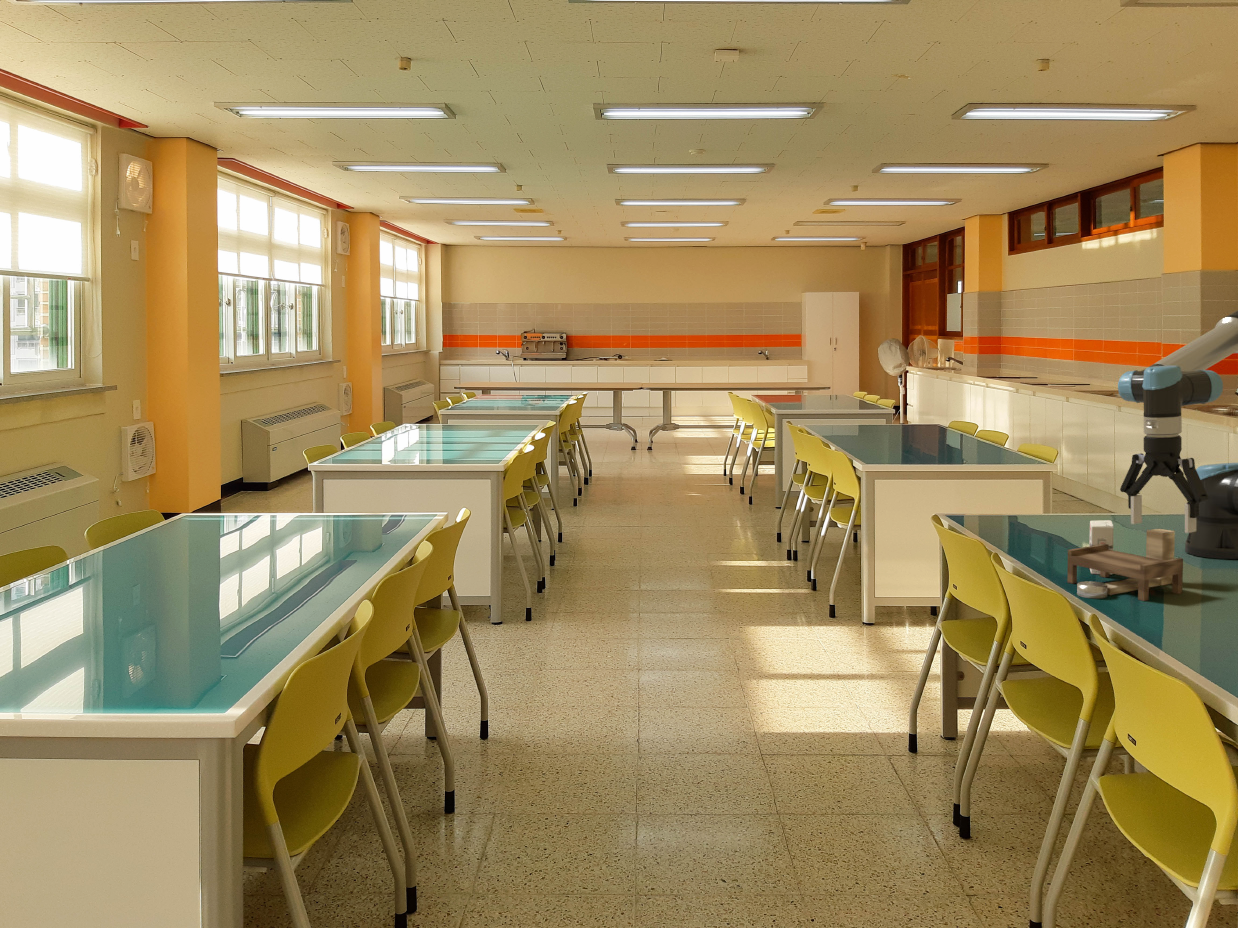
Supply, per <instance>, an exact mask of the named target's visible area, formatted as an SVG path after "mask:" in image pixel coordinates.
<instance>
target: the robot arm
mask: <svg viewBox="0 0 1238 928" xmlns="http://www.w3.org/2000/svg"><path fill="white" fill-rule="evenodd" d="M1232 354H1238V310H1236V311H1234V312H1232V313H1230V314H1229V315H1226V316H1224V317H1223V318H1221V319H1220V320H1219V321H1218V322H1217V323H1216V324H1215V326H1214V328H1212V329H1211V330H1209V331H1207V332H1205V333H1204V334H1202V335H1201V336H1199V337H1197V338H1195V339H1194V340H1192V341H1190V342H1189V343H1187V344H1185V345H1184V346H1182V347H1180V348H1178V349H1177V350H1175V351H1174V352H1172V353H1170V354H1169V355H1167V356H1165V357H1163V358H1161V359H1160V360H1158V361H1157V362H1155V363H1153V364H1151V365H1150V366H1148V367H1146V368H1144V369H1141V370H1138V369H1137V370H1135V369H1133V370H1130V371H1126V372H1124V373H1123V374H1122V375H1121V376H1120V377H1119V379H1118V383H1117V390H1118V394H1119V396H1120V398H1121V399H1123V400H1124V401H1126V402H1134V403H1137V404H1141V403H1143V434H1144V435H1145V436H1144V437H1143V452H1145V454H1144V453H1142V452H1141V453H1135V454H1132V456H1131V463H1130V466H1129V468H1128V470H1127V473H1126V475H1125V477H1124V479H1123V481H1122V484H1121V486H1120V489H1119V490H1120V492H1122V493H1125V494H1126V495H1127V498H1128V499H1127V501H1128V503H1127V504H1128V505H1127V507H1128V509H1130V524H1131V525H1137V524H1141V523H1143V509H1142V508H1143V505H1142V504H1143V502H1142V501H1143V499H1142V498H1143V496H1142V494H1141V491H1142V489H1143V488H1145V486H1146V485H1147V484H1148V483H1149V481H1150V480H1151V479H1152V478H1153V476H1155V477H1158V476H1160V477H1163V478H1167V477H1168V478H1169V480H1172V482H1173V483H1174V484H1175V486H1176V487H1177V489H1178V490H1179V491H1180V493H1181V494H1182V495H1183V497H1184V498H1185V500H1186V501H1187V502H1186V503H1184V533H1185V534H1188V535H1187V538H1186V540H1185V544H1184V552H1185V553H1187V554H1189V555H1192V556H1195V557H1196V556H1197V557H1202V558H1209V559H1219V560H1220V559H1222V560H1238V462H1227V463H1212V464H1204V465H1203V464H1202V465H1199V466H1198V467H1197V468H1196V464H1195V462H1196V461H1195V459H1194V458H1193V457H1187V458H1182V457H1181V451H1182V449H1183V448H1182V446H1183V445H1182V436H1181V435H1180V434H1181V433H1182V432H1183V429H1182V428H1183V426H1182V424H1183V423H1182V417H1183V416H1182V407H1183V406H1192V405H1194V406H1195V405H1205V404H1208V403H1211V402H1212V403H1213V402H1214V401H1216V400H1218V399H1219V398H1220V397H1221V395H1222V393H1223V390H1224V383H1223V382H1224V381H1223V380H1222V377H1221V376H1220V375H1219V373H1217V372H1215V371H1213V370H1209V368H1211V367H1212V366H1214V365H1215V364H1217V363H1220V362H1221V361H1222V360H1224V359H1226V358H1227V357H1230V356H1231V355H1232ZM1144 463H1145V465H1146V466H1145V468H1143V466H1144V465H1143V464H1144ZM1142 469H1143V470H1142ZM1141 470H1142V471H1141ZM1182 470H1183V471H1182ZM1140 473H1141V474H1140ZM1139 475H1140V476H1139Z"/></svg>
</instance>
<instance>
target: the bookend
mask: <svg viewBox="0 0 1238 928" xmlns="http://www.w3.org/2000/svg"><path fill="white" fill-rule="evenodd" d="M1175 534H1176V531H1174V530H1170V529H1164V528H1154V529H1148V530H1146V542H1145V545H1146V547H1145V548H1146V549H1145V553H1146V554H1145V557H1149V558H1154V559H1159V560H1164V561H1165V560H1170V559H1175V536H1176V535H1175ZM1104 584H1107V596H1108V595H1109V596H1112V595H1117V594H1122V593H1123V594H1124V593H1128V592H1133V591H1138V579H1135V578H1131V577H1130V578H1126V579H1122V580H1115V581H1111V582H1105V583H1104ZM1170 584H1171V585H1172V575H1170V576H1165V577H1160V578H1155V579H1149V588H1154V587H1158V586H1165V585H1170Z"/></svg>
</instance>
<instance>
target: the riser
mask: <svg viewBox="0 0 1238 928" xmlns="http://www.w3.org/2000/svg"><path fill="white" fill-rule="evenodd" d="M1108 548H1109V545H1108V544H1101V545H1095V546H1089V545H1088V546H1085V547H1084V546H1083V547H1079V548H1072V549H1067V583H1068V584H1073V585H1074V584H1077V583H1078V576H1077V575H1078V567H1083V568H1087V569H1089V570H1090V569H1095V570H1099V571H1100V574H1099V577H1101V578H1109V577H1111V576H1110V573H1113V574H1115V575H1118V576H1122V577H1127V578H1130V579H1131V578H1135V579H1138V590H1137V593H1138V594H1137V599H1138V601H1143V602H1145V601H1146V602H1147V601H1149V597H1150V596H1149V593H1150V592H1149V589H1150V587H1149V579H1155V578H1160V577H1165V576H1170V575H1172V583H1171V593H1172V594H1175V595H1180V594H1183V579H1184V577H1183V575H1184V559H1183V558H1180V557H1178V558H1176V557H1175V558H1174V559H1170V560H1165V561H1164V560H1159V559H1154V558H1149V557H1146V556H1143V555H1139V554H1132V553H1128V552H1122V551H1118V550H1114V549H1113V550H1108Z"/></svg>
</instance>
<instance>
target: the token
mask: <svg viewBox="0 0 1238 928" xmlns="http://www.w3.org/2000/svg"><path fill="white" fill-rule="evenodd" d="M1076 587H1077V588H1076V591H1077V592H1076V595H1077V596H1078V597H1082V598H1084V599H1085V598H1087V599H1096V600H1097V599H1105V598H1107V597H1108V594H1107V584H1105V583H1104V582H1100V581H1090V580H1089V581H1088V580H1087V581H1085V580H1084V581H1079V582H1077V583H1076Z"/></svg>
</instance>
